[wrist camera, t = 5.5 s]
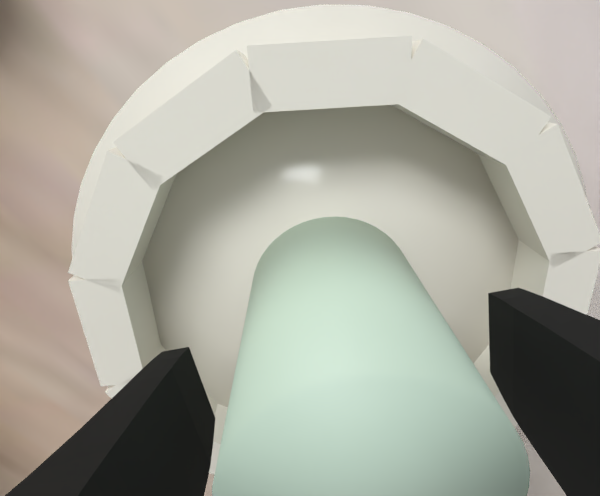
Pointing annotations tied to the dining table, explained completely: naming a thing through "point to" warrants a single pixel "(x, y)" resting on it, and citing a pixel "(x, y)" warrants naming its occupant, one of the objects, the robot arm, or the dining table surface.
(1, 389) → the dining table surface
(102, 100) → the dining table surface
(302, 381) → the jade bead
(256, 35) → the round bowl
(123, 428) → the robot arm
